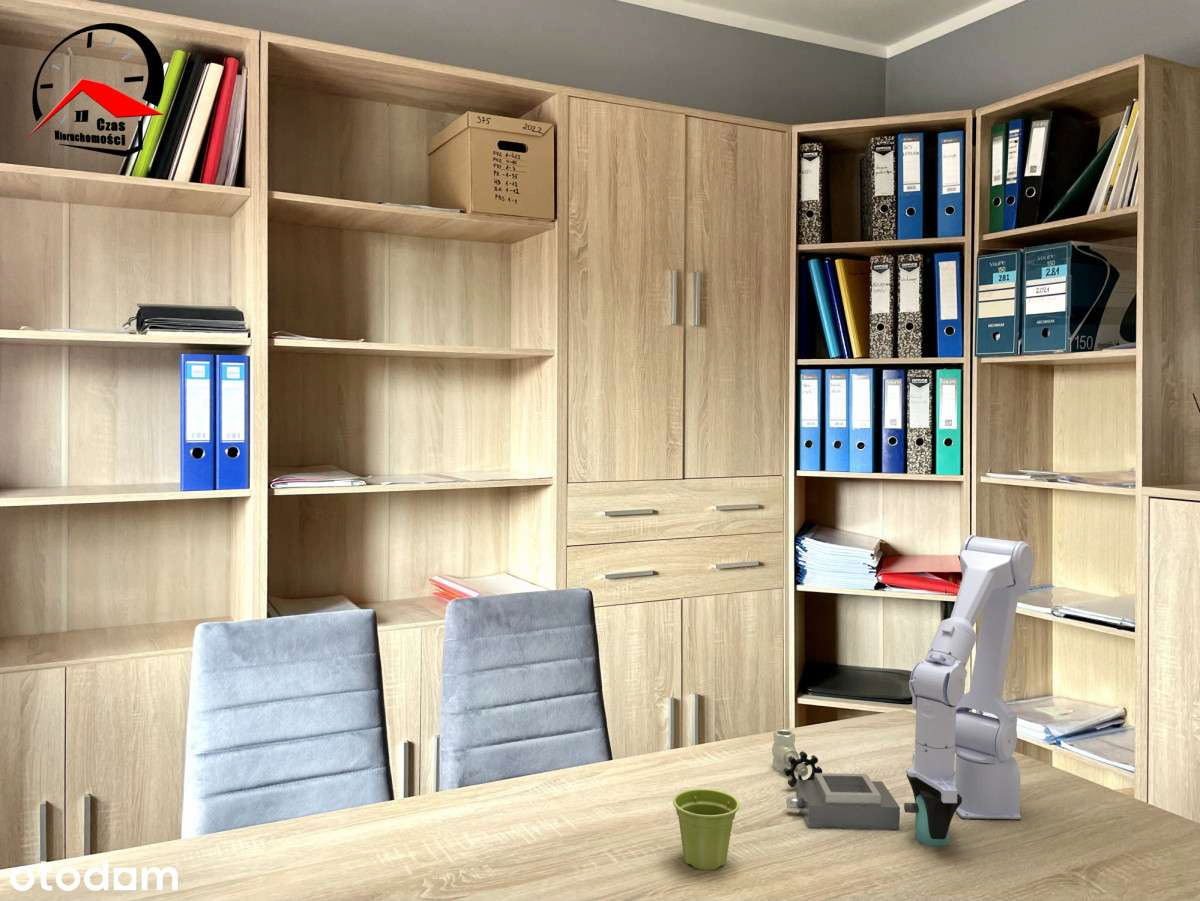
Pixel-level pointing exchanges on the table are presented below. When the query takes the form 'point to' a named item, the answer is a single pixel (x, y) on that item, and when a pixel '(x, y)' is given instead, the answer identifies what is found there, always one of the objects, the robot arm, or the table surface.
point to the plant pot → (705, 826)
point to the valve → (791, 757)
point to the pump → (923, 823)
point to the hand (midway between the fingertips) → (931, 829)
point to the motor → (845, 802)
